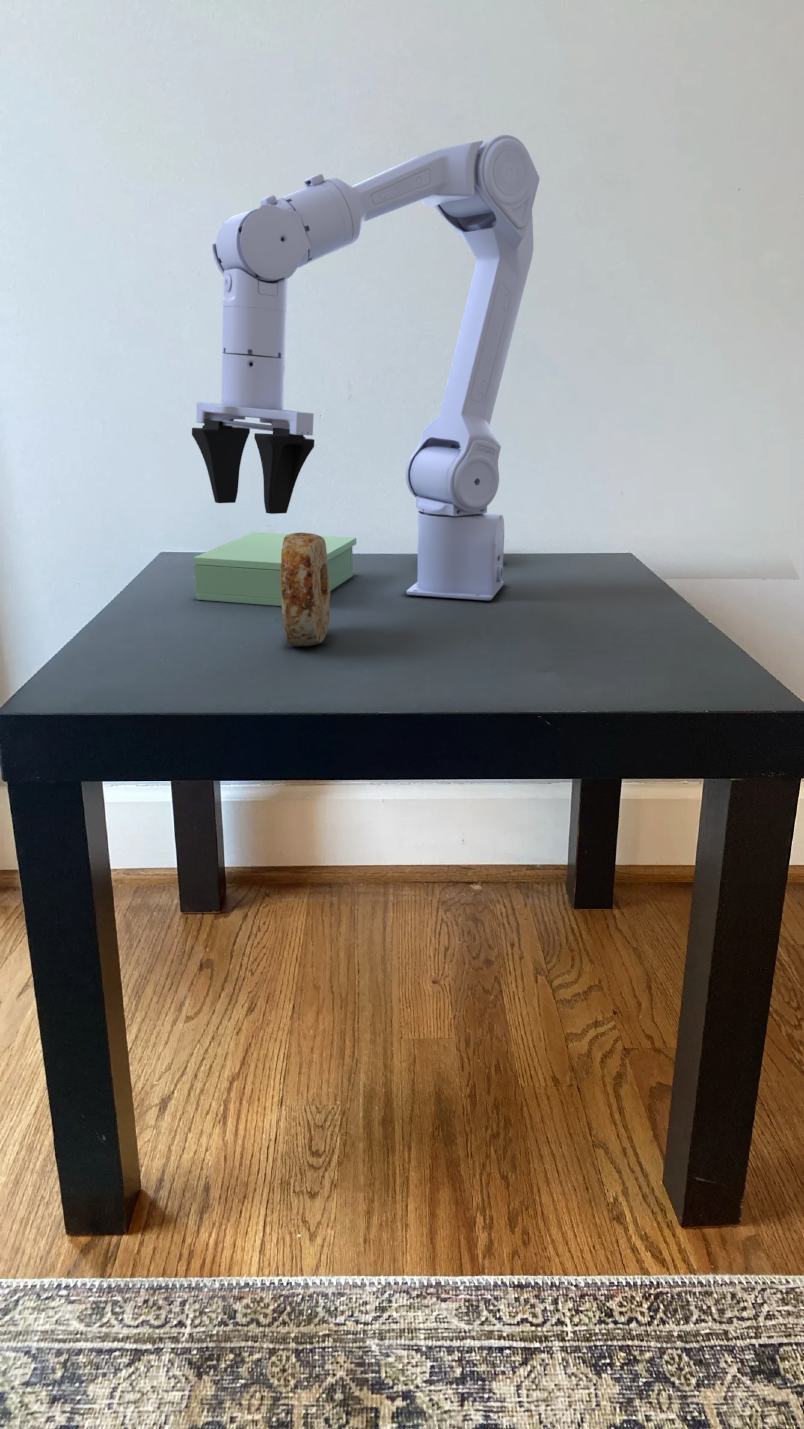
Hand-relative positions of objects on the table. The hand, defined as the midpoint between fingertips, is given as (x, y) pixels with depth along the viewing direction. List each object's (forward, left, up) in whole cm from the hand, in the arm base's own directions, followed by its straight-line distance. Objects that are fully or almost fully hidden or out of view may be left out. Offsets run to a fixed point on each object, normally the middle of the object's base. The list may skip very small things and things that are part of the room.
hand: (250, 507), depth 90 cm
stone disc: (-8, +6, -11) cm, 15 cm away
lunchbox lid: (+3, -13, -7) cm, 15 cm away
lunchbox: (+3, -13, -11) cm, 18 cm away
